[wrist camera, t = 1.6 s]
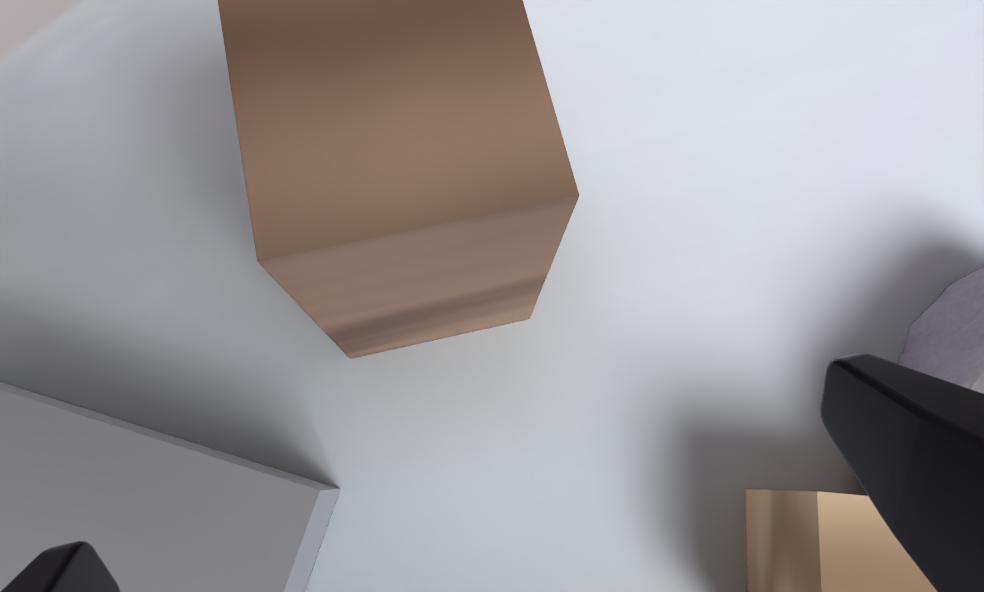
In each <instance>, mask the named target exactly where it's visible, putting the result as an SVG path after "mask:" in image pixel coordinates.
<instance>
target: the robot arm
mask: <svg viewBox="0 0 984 592" xmlns="http://www.w3.org/2000/svg"><path fill="white" fill-rule="evenodd" d="M821 417H822V421H823V424H824V426H825V428H826V430H827V431H828V433H829V435H830V436H831V438H832V439H833V441H834V443H835V444H836V446H837V447H838V449H839V451H840V452H841V454H842V455H843V457H844V458H845V460H846V462H847V463H848V465H849V466H850V468H851V470H852V471H853V473H854V474H855V476H856V478H857V479H858V481H859V482H860V484H861V485H862V487H863V489H864V490H865V492H866V493H867V495H868V497H869V498H870V500H871V501H872V503H873V505H874V506H875V508H876V509H877V511H878V512H879V514H880V516H881V517H882V519H883V520H884V522H885V523H886V525H887V526H888V527H889V529H890V530H891V532H892V533H893V535H894V536H895V537H896V539H897V540H898V541H899V543H900V544H901V545H902V547H903V548H904V549H905V551H906V552H907V553H908V555H909V556H910V557H911V559H912V560H913V561H914V562H915V564H916V565H917V566H918V568H919V569H920V570H921V571H922V573H923V574H924V575H925V577H926V578H927V579H928V580H929V582H930V583H931V584H932V586H933V587H934V588H935V589H936V591H937V592H984V393H981V392H978V391H975V390H972V389H969V388H966V387H963V386H960V385H957V384H955V383H952V382H949V381H946V380H943V379H940V378H937V377H934V376H931V375H928V374H926V373H923V372H920V371H917V370H914V369H911V368H908V367H905V366H902V365H899V364H897V363H894V362H891V361H888V360H885V359H882V358H879V357H876V356H873V355H870V354H867V353H856V354H851V355H847V356H843V357H839V358H835V359H833V360H832V361H831V362H830V363H829V364H828V366H827V369H826V376H825V382H824V389H823V395H822V402H821ZM0 592H120V589H119V586H118V584H117V582H116V581H115V579H114V578H113V576H112V575H111V573H110V572H109V570H108V569H107V567H106V566H105V564H104V563H103V561H102V560H101V558H100V557H99V555H98V554H97V552H96V551H95V549H94V548H93V546H92V545H91V544H89V543H87V542H85V541H76V542H72V543H67V544H63V545H59V546H55V547H51V548H49V549H46V550H44V551H43V552H41V553H40V554H39V555H38V556H37V557H36V558H35V559H34V560H33V561H31V562H30V563H29V564H28V565H27V566H26V567H25V568H24V569H23V570H22V571H21V572H20V573H19V574H18V575H17V576H16V577H15V578H14V579H13V580H12V581H11V582H10V583H9V584H8V585H7V586H6V587H5V588H4V589H3V590H1V591H0Z"/></svg>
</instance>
